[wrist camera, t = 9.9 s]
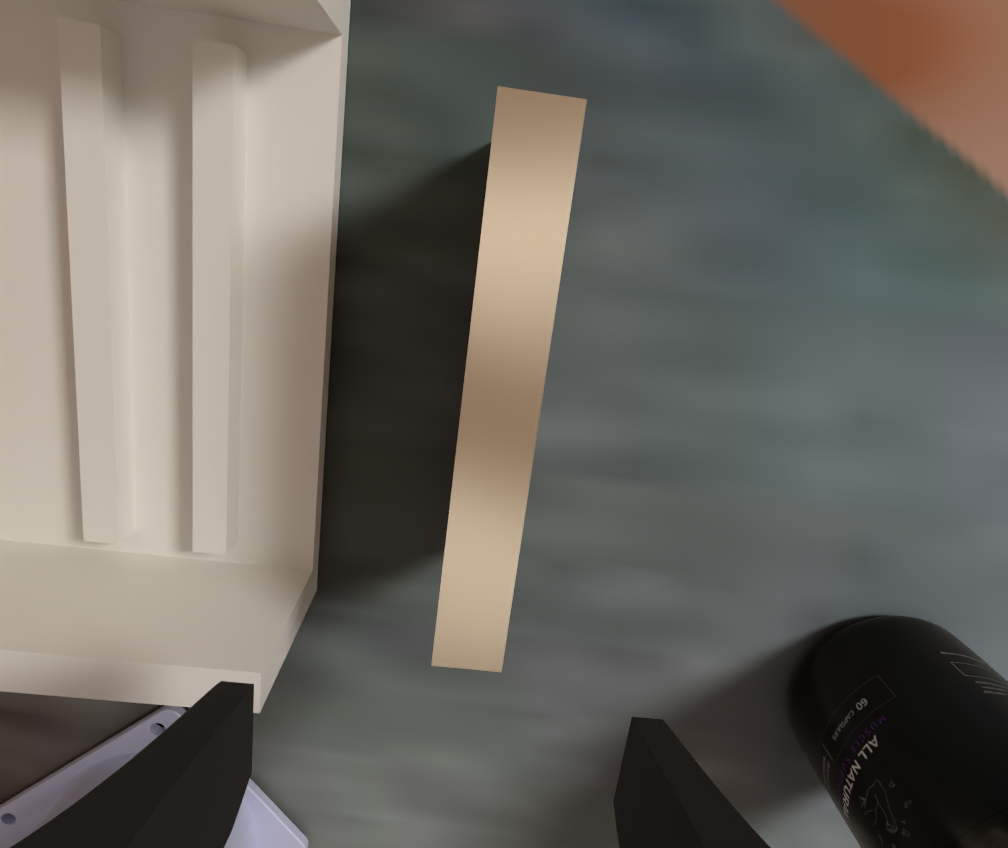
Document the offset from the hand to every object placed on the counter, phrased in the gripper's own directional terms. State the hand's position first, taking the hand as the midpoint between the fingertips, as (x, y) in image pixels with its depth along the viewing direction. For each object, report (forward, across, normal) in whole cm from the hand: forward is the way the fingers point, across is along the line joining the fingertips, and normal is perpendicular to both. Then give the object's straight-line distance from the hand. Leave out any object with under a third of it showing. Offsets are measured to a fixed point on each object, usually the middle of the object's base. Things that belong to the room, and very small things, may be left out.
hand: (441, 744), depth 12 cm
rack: (+10, +12, -6) cm, 16 cm away
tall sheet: (+10, 0, -6) cm, 12 cm away
